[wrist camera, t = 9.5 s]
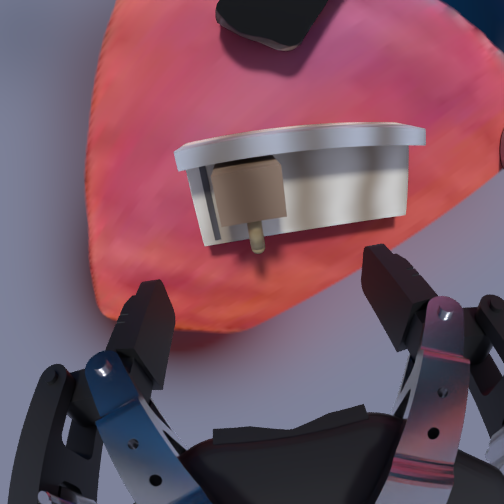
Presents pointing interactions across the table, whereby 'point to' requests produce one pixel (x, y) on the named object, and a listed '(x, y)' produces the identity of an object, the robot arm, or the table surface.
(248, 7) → the black sponge
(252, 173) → the brown block with peg
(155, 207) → the table surface
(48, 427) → the robot arm
